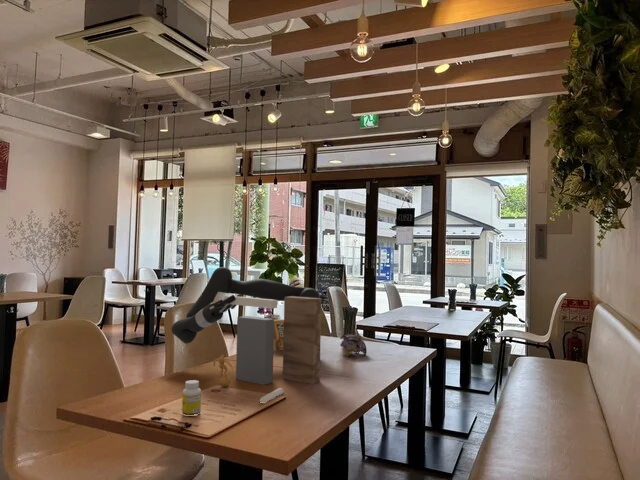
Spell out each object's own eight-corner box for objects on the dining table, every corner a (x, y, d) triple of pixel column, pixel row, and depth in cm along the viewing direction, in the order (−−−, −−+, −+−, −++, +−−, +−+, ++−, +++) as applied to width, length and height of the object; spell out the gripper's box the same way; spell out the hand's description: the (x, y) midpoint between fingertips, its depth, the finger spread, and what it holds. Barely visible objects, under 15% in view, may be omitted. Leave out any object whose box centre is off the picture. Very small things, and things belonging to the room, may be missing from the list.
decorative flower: (375, 337, 236) (347, 328, 233) (371, 361, 231) (342, 352, 229) (364, 340, 249) (337, 332, 246) (360, 363, 245) (332, 355, 242)
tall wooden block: (289, 376, 196) (291, 296, 197) (319, 381, 188) (321, 298, 189) (282, 378, 191) (284, 296, 192) (312, 384, 184) (314, 299, 185)
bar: (229, 303, 197) (229, 295, 197) (276, 307, 185) (277, 299, 185) (224, 303, 195) (224, 296, 195) (272, 308, 182) (272, 300, 182)
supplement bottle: (183, 411, 149) (184, 379, 149) (201, 411, 149) (202, 379, 150) (180, 417, 143) (181, 384, 144) (199, 417, 144) (200, 384, 144)
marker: (257, 409, 156) (279, 395, 171) (262, 406, 155) (284, 393, 170) (254, 401, 156) (276, 388, 171) (259, 398, 156) (281, 386, 171)
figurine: (237, 386, 178) (238, 353, 178) (228, 390, 172) (228, 356, 173) (218, 384, 181) (219, 351, 182) (208, 387, 176) (209, 354, 176)
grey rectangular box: (244, 376, 193) (245, 315, 194) (272, 382, 186) (274, 318, 187) (235, 379, 189) (237, 317, 190) (264, 384, 182) (266, 320, 182)
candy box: (282, 348, 254) (283, 319, 254) (287, 349, 250) (288, 319, 251) (268, 350, 248) (269, 320, 249) (273, 351, 245) (273, 321, 245)
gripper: (193, 308, 196) (222, 289, 188) (217, 305, 208) (245, 287, 200) (199, 325, 194) (228, 306, 186) (223, 321, 206) (252, 304, 198)
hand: (237, 296), depth 193 cm, fingers closed on bar, 3 cm apart
